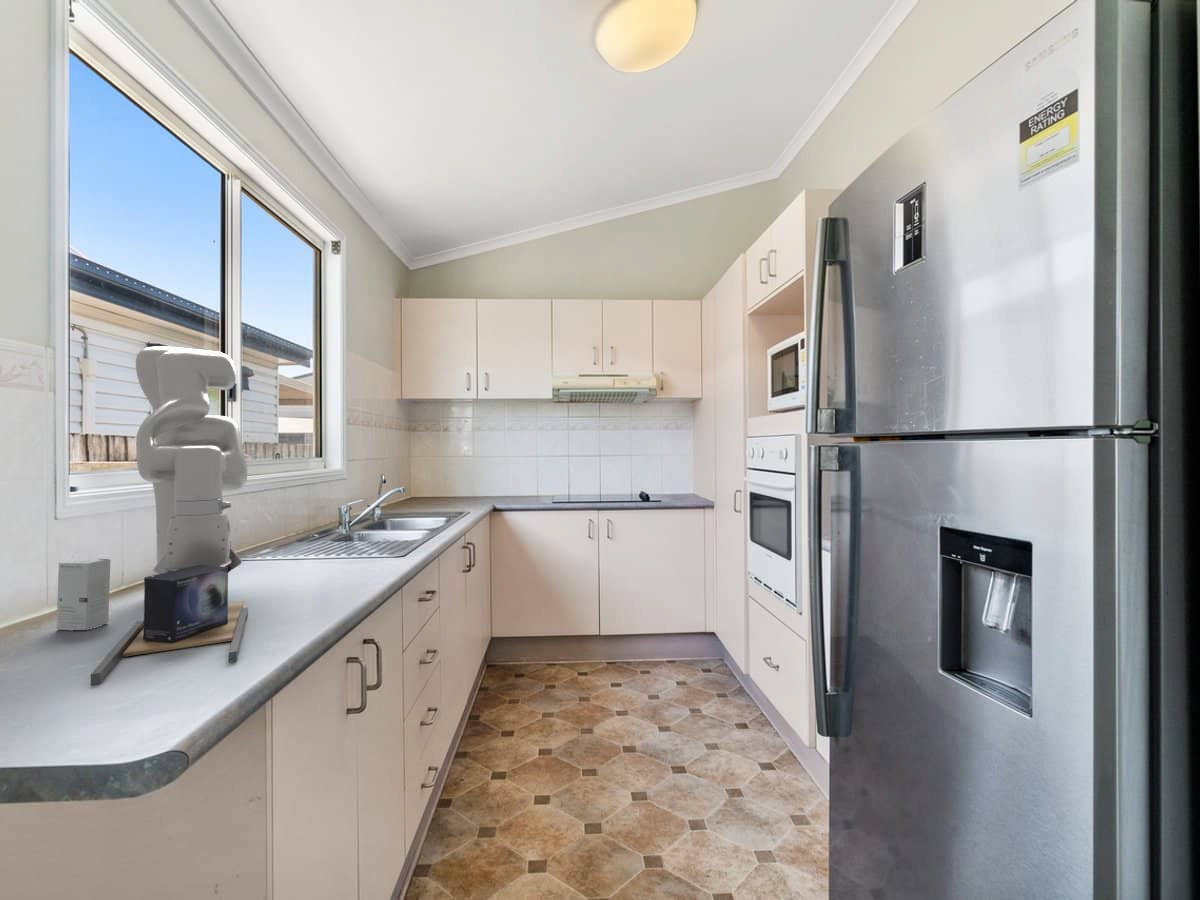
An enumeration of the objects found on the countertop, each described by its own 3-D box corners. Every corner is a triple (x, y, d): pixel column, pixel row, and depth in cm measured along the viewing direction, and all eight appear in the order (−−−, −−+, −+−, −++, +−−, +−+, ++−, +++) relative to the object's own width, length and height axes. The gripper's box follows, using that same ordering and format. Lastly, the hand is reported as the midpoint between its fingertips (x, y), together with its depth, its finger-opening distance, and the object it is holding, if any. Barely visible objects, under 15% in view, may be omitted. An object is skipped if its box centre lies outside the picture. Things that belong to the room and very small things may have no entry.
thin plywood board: (156, 614, 105) (156, 580, 105) (243, 603, 112) (243, 572, 112) (123, 656, 84) (122, 614, 84) (232, 640, 91) (232, 601, 91)
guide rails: (136, 629, 97) (136, 621, 97) (247, 615, 105) (247, 607, 105) (90, 685, 74) (90, 674, 74) (236, 661, 82) (236, 651, 82)
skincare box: (55, 630, 96) (54, 562, 96) (80, 622, 101) (80, 557, 101) (87, 631, 96) (86, 563, 96) (112, 623, 100) (111, 557, 100)
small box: (174, 644, 88) (173, 579, 87) (141, 641, 89) (140, 577, 89) (230, 623, 98) (230, 565, 98) (200, 621, 99) (199, 563, 99)
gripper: (250, 504, 114) (251, 592, 114) (148, 509, 105) (149, 603, 106) (248, 508, 107) (249, 600, 107) (139, 513, 99) (140, 614, 99)
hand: (199, 601), depth 106 cm, fingers closed on thin plywood board, 4 cm apart
